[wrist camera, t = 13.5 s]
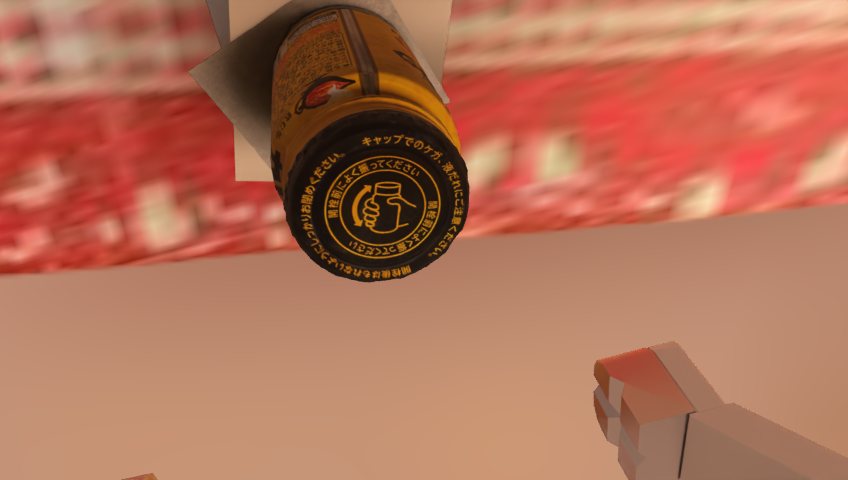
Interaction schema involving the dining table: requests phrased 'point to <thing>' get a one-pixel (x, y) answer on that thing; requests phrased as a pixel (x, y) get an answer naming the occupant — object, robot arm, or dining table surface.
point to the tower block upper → (419, 10)
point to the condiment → (347, 134)
